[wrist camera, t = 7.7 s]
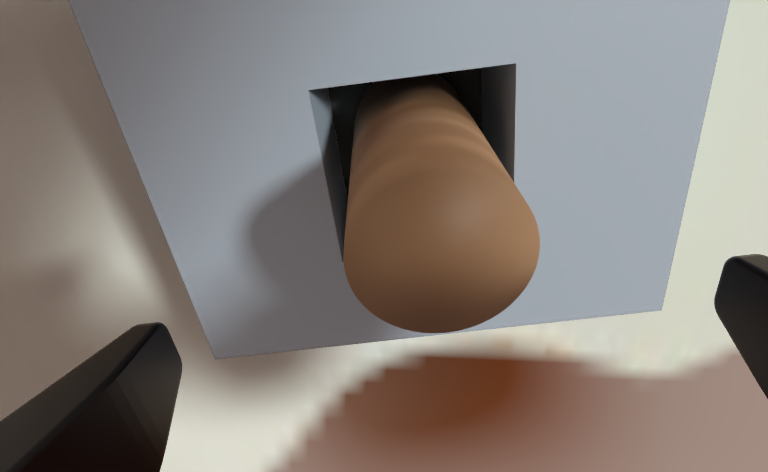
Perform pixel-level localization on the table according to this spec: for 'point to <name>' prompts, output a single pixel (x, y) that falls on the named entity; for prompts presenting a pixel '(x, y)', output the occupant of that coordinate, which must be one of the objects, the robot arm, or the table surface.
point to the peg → (432, 212)
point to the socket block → (322, 158)
